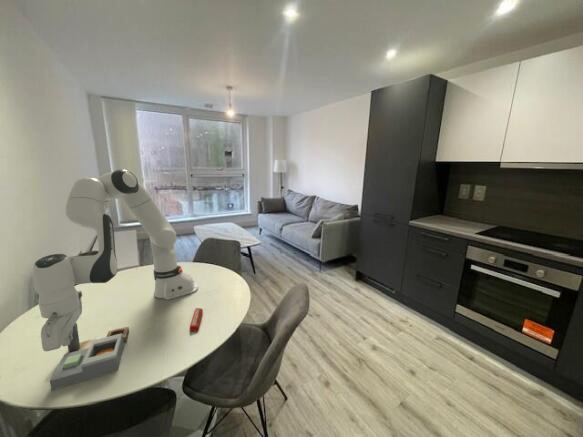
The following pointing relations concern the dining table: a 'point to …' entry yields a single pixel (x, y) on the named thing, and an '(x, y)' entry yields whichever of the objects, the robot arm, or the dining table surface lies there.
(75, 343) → the grey rounded rod
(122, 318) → the dining table surface
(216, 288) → the dining table surface
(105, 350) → the plunger
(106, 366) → the grey boxy piece
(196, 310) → the candy bar
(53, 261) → the robot arm
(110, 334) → the stand
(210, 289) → the dining table surface
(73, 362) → the on button
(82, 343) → the pad
